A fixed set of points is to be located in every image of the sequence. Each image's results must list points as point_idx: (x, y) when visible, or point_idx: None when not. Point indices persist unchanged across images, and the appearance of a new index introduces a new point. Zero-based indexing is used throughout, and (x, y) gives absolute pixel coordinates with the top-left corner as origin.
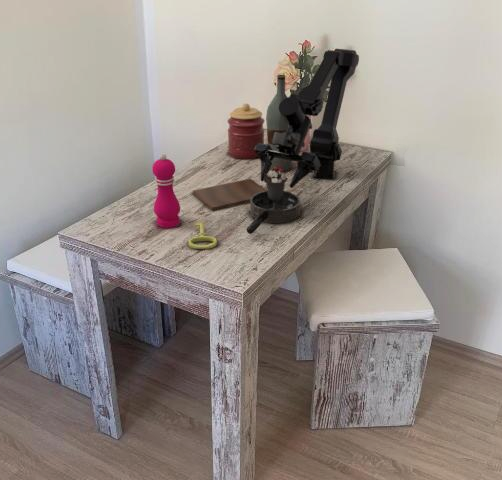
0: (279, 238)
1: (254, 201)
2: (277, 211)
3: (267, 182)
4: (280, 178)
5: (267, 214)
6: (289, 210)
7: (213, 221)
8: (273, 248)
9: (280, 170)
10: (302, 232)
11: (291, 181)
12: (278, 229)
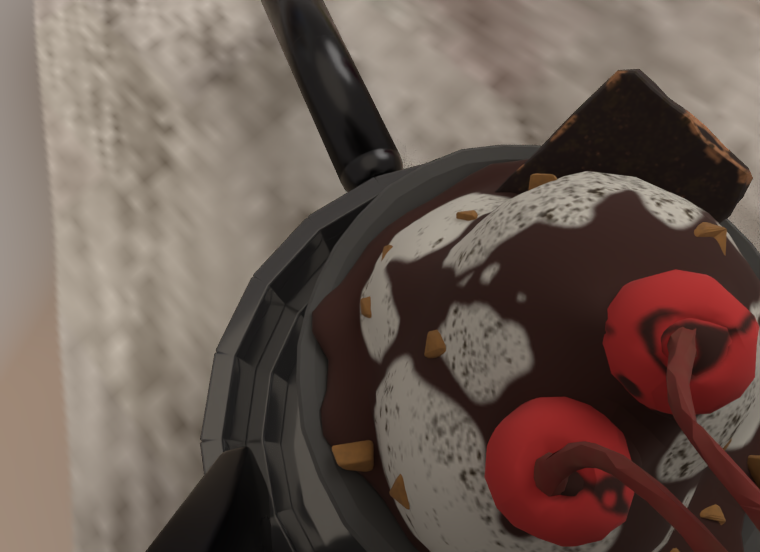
0: (162, 150)
1: None
2: (288, 242)
3: (521, 147)
4: (396, 333)
5: (338, 167)
6: (221, 349)
7: (663, 8)
8: (118, 49)
9: (521, 416)
10: (81, 323)
11: (217, 499)
12: (249, 232)
